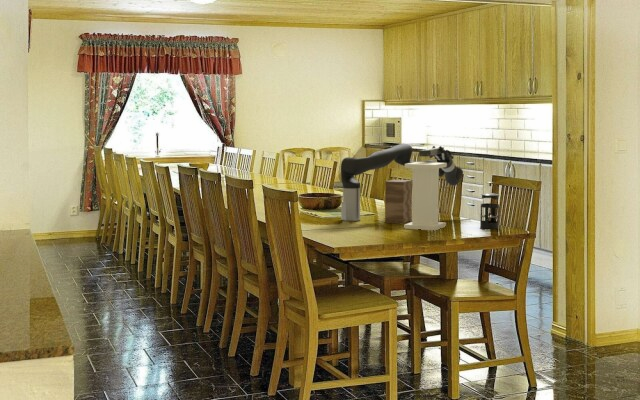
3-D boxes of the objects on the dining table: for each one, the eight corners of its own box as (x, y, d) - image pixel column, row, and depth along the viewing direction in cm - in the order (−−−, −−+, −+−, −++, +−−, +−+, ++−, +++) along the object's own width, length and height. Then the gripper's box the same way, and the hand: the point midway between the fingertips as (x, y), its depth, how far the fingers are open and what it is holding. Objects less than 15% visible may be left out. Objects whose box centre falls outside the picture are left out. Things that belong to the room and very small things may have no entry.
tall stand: (434, 230, 406) (435, 164, 402) (404, 228, 413) (404, 163, 410) (445, 226, 420) (446, 162, 416) (415, 224, 427) (416, 161, 424)
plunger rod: (428, 156, 416) (428, 150, 415) (417, 156, 419) (417, 150, 418) (446, 153, 439) (446, 147, 438) (435, 152, 442) (435, 147, 441)
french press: (495, 230, 406) (495, 183, 404) (476, 229, 411) (477, 182, 408) (502, 227, 416) (503, 181, 414) (484, 226, 421) (485, 180, 418)
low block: (403, 223, 430) (403, 182, 428) (385, 222, 435) (385, 181, 433) (411, 220, 441) (411, 180, 439) (393, 219, 446) (394, 179, 443)
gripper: (457, 169, 443) (448, 154, 429) (432, 168, 450) (422, 153, 436) (459, 156, 446) (450, 141, 432) (435, 155, 452) (425, 141, 438)
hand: (436, 147), depth 434 cm, fingers closed on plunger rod, 3 cm apart
